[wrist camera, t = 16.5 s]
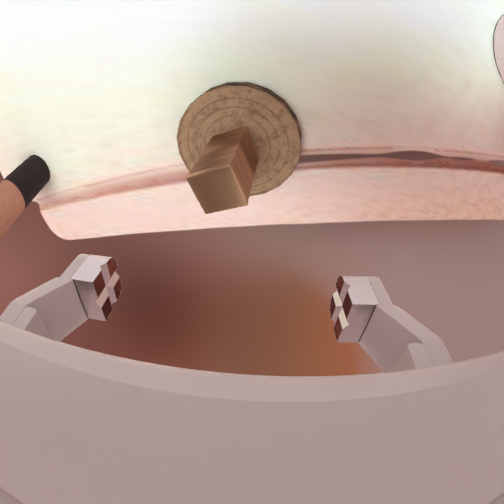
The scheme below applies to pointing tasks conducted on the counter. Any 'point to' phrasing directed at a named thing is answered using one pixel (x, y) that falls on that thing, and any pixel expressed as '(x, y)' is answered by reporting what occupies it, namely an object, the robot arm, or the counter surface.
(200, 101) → the wood slice
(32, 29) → the counter surface
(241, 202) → the walnut block
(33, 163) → the travel mug
